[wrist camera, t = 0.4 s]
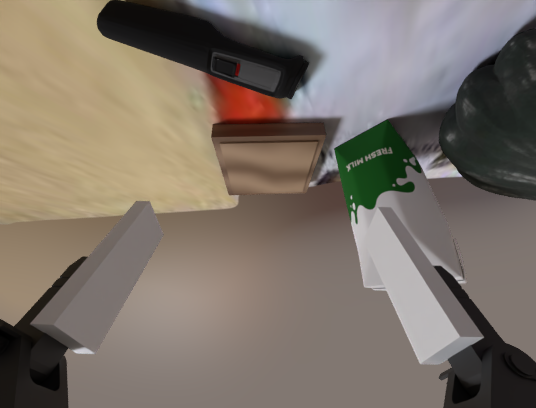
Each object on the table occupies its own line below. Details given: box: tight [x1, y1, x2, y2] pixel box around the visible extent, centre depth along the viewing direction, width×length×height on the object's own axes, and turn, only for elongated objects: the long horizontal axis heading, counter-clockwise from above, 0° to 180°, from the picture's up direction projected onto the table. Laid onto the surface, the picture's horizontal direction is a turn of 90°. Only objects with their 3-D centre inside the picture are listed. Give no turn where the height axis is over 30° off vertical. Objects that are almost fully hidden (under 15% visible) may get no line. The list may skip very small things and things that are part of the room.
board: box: [211, 123, 326, 195], centre depth 30 cm, size 13×13×2 cm
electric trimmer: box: [97, 0, 309, 99], centre depth 17 cm, size 4×16×3 cm, turn 70°
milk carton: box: [334, 120, 467, 291], centre depth 24 cm, size 9×9×20 cm
